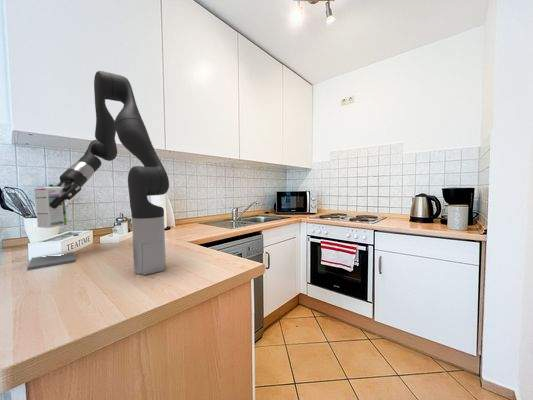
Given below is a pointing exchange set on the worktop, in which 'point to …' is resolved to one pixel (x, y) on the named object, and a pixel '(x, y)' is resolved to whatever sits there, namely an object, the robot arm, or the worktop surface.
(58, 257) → the mat
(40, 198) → the syrup box
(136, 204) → the robot arm
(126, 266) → the worktop surface
